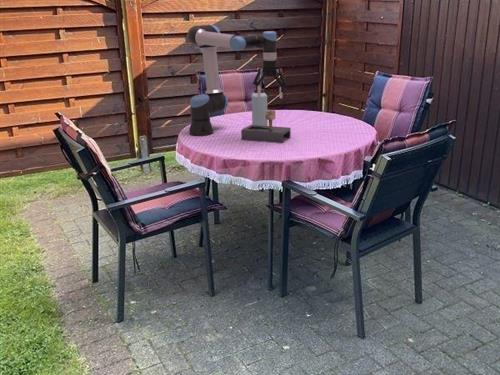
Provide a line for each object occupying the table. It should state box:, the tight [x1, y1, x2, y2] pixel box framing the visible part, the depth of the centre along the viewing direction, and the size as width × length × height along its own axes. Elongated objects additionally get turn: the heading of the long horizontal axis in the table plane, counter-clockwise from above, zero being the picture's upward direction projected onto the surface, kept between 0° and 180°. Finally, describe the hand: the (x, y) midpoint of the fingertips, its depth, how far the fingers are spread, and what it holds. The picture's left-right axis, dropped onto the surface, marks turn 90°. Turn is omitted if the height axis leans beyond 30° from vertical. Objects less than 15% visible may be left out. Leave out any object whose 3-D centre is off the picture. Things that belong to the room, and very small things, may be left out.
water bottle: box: [251, 88, 269, 126], centre depth 327 cm, size 10×10×25 cm
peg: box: [265, 109, 276, 130], centre depth 301 cm, size 5×5×17 cm
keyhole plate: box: [240, 124, 292, 144], centre depth 304 cm, size 26×14×6 cm, turn 66°
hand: (270, 97), depth 296 cm, fingers open, 13 cm apart
